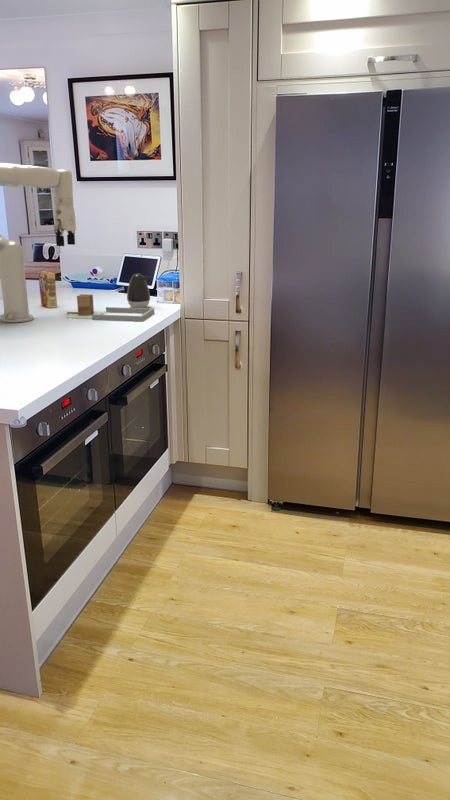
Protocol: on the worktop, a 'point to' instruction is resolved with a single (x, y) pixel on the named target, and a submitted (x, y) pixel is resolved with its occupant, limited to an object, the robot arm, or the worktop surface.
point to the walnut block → (84, 305)
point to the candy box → (47, 289)
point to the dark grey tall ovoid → (138, 292)
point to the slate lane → (146, 311)
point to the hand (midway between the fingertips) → (65, 245)
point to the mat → (85, 316)
